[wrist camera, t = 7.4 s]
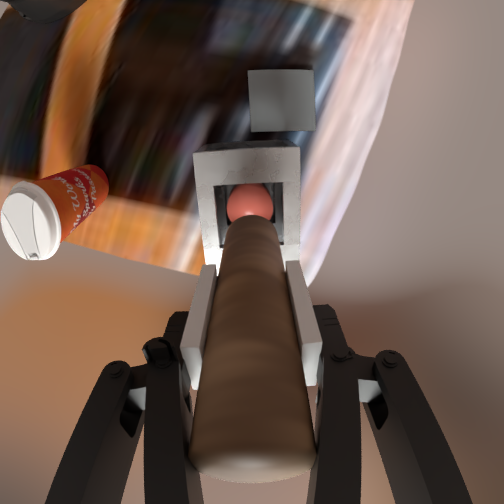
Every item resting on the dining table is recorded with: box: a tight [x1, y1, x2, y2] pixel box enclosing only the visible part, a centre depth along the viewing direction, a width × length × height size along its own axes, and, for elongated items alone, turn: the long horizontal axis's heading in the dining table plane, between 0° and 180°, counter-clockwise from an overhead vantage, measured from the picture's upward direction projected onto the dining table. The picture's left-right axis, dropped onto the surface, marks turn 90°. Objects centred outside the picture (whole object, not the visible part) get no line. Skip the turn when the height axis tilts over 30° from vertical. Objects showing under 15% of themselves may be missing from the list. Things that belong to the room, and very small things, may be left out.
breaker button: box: [227, 183, 273, 223], centre depth 29 cm, size 4×4×3 cm
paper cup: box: [1, 165, 109, 260], centre depth 26 cm, size 8×8×14 cm
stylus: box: [188, 215, 317, 483], centre depth 15 cm, size 4×4×17 cm
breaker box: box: [193, 139, 300, 276], centre depth 29 cm, size 12×9×8 cm
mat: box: [248, 70, 316, 132], centre depth 28 cm, size 7×7×1 cm
